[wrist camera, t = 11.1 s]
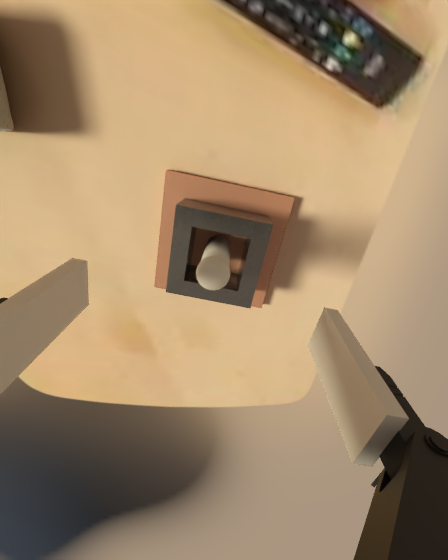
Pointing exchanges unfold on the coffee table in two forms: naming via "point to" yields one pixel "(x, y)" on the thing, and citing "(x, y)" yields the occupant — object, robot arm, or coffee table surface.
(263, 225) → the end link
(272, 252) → the brown base with peg
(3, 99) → the ceramic mug
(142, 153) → the coffee table surface
